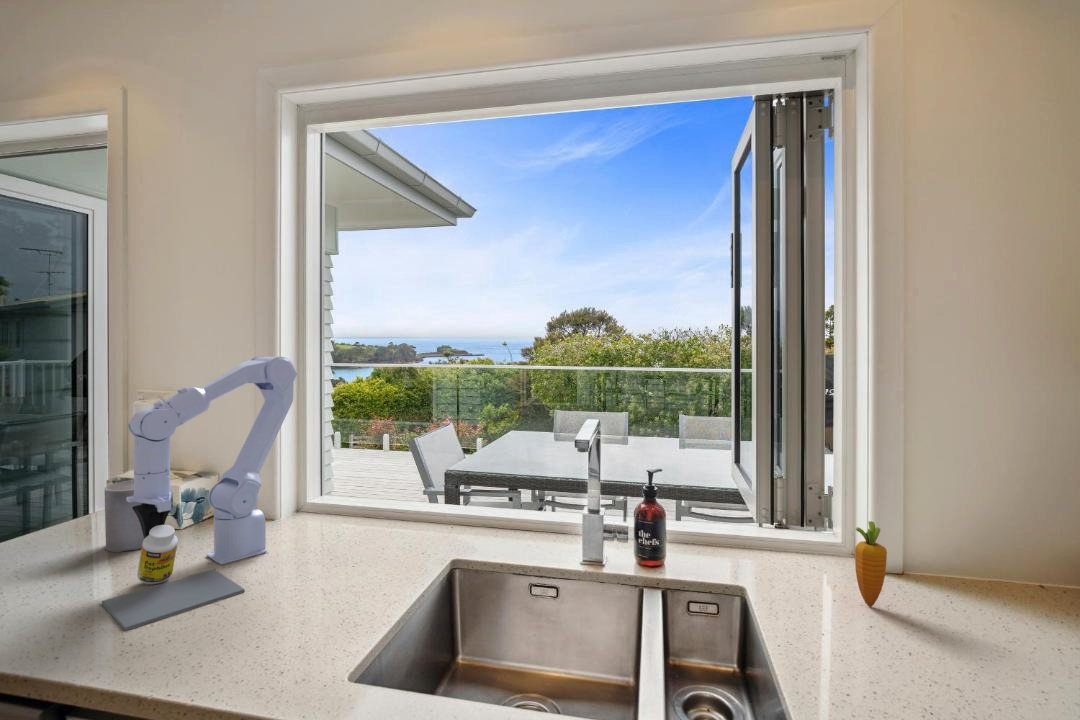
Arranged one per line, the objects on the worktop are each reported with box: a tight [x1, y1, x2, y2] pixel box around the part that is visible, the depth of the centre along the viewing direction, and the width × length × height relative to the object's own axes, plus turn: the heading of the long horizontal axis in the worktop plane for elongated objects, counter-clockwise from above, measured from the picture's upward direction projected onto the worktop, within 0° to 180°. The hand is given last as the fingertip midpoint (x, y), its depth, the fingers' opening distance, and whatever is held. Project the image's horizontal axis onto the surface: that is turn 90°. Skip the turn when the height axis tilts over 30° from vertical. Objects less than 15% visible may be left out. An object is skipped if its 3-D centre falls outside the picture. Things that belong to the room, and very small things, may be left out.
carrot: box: [854, 520, 888, 608], centre depth 97 cm, size 5×5×15 cm
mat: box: [101, 568, 245, 631], centre depth 98 cm, size 18×14×1 cm
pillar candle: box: [104, 478, 144, 553], centre depth 123 cm, size 10×10×15 cm
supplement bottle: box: [137, 524, 179, 585], centre depth 103 cm, size 6×6×10 cm
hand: (152, 541), depth 105 cm, fingers closed
